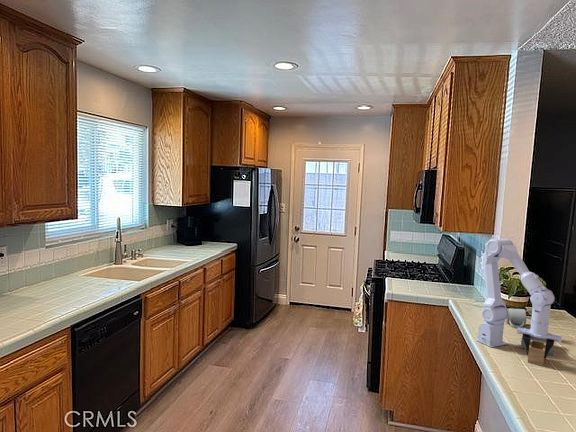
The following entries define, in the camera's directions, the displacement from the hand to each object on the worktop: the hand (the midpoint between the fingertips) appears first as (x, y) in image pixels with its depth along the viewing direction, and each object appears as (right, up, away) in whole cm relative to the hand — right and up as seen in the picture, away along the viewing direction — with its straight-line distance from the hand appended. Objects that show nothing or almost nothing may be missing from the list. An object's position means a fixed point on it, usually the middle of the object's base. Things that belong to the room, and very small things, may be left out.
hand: (536, 355), depth 158 cm
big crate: (+9, -1, +14) cm, 16 cm away
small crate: (0, -2, 0) cm, 2 cm away
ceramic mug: (+14, +1, +39) cm, 42 cm away
